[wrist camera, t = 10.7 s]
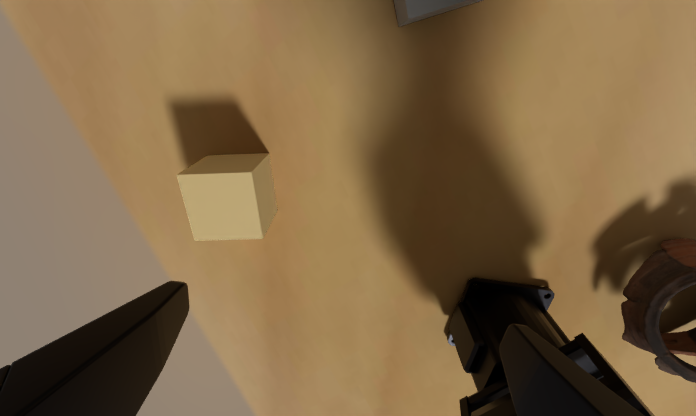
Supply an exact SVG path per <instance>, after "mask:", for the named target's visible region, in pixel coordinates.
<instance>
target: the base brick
mask: <svg viewBox="0 0 696 416" xmlns="http://www.w3.org/2000/svg"><path fill="white" fill-rule="evenodd" d="M479 1H482V0H394V5H395V10H396V15H397V21H398V26H399V27H400V26H403V25H406V24H409V23H412V22H416V21H419V20H422V19H425V18H428V17H432V16H435V15H438V14H441V13H444V12H447V11H451V10H454V9H457V8H460V7H463V6H466V5H470V4H473V3H476V2H479Z"/></svg>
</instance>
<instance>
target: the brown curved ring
mask: <svg viewBox="0 0 696 416" xmlns="http://www.w3.org/2000/svg"><path fill="white" fill-rule="evenodd" d="M661 248H662V250H659V251H656V252H654V253H653V255H652V256H650V257H649V258H648V259H647V260H646V261H645V262H644V263H643V264H642V266H641V267H640V268H639V269H638V270H637V271H636V272H635V274H634V275H633V276H632V278H631V279H630V281H629V283H628V284H627V286H626V287H625V288H624V290H623V295H624V296H625V297H626V298H627V299H628V300H627V301H625V302H623V303H622V304H621V309H622V315H623V319H624V324H625V330H624V333H623V335H622V339H623V340H625V341H627V342H629V343H631V344H632V345H634V346H636V347H638V348H641V349H643V350H646V351H649V352H651V353H653V354H655V355H656V356H658V357H656V358H655V363H656V364H657V365H658V366H659V367H658V368H659V369H660V370H662V371H665V372H667V373H670V374H673V375H678V376H682V377H683V378H684V379H686V380H688V381H691V382H695V383H696V367H695V366H693V365H690V364H688V363H686V362H684V361H683V360H681V359H679V358H678V357H677V356H675V355H674V354H684V355H690V356H696V327H695V328H693V329H691V330H689V331H683V332H676V333H660V331H659V320H660V315H661V312H662V310H663V309H664V307H665V306H666V304H667V302H668V301H669V300H670V299H671V298H672V297H673V296H674V295H676V294H677V293H678V292H680V291H682V290H684V289H685V288H688V287H690V286H692V285H695V284H696V241H694V240H691V239H674V240H666V241H663V242H662V245H661Z"/></svg>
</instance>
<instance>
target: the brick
mask: <svg viewBox="0 0 696 416" xmlns="http://www.w3.org/2000/svg"><path fill="white" fill-rule="evenodd" d="M177 178H178V182H179V186H180V189H181V193H182V197H183V200H184V204H185V208H186V211H187V215H188V219H189V222H190V226H191V230H192V233H193V237H194V241H201V240H237V239H263V238H264V236H265V234H266V232H267V230H268V228H269V226H270V224H271V222H272V220H273V218H274V216H275V214H276V212H277V210H278V209H277V203H276V196H275V189H274V182H273V175H272V168H271V161H270V154H269V153H259V154H231V155H207V156H205V157H204V158H202V159H201V160H199V161H198V162H196V163H194V164H193V165H191V166H190V167H188V168H187V169H185V170H183V171H182V172H180V173H179V174H177Z"/></svg>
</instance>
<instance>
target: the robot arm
mask: <svg viewBox="0 0 696 416" xmlns="http://www.w3.org/2000/svg"><path fill="white" fill-rule="evenodd" d="M474 284H477V285H475V286H473V285H474ZM545 294H547V295H545ZM553 298H554V293H553V291H552V290H551V289H550V288H547V287H540V286H533V285H525V284H518V283H510V282H503V281H495V280H488V279H480V278H472V279H470V280H468V282H467V284H466V287H465V290H464V292H463V295H462V298H461V301H460V302H459V303H458V304H457V306H456V309H455V311H454V314H453V317H452V320H451V322H450V325H449V333H448V336H447V340H448V343H449V344H450V345H452V346H456V349H457V352H458V355H459V358H460V361H461V363H462V366H463V369H464V370H465V372H466V373H471V375H472V377H473V380H474V383H475V385H476V388H477V391H478V392H477V393H475V394H473V395H471V396H469V397H468V396H466V397H464V398H462V399H460V410H461V416H654V415H653V413H652V412H651V411H650V410H649V409H648V407H647V406H646V405H645V404H644V403H643V402H642V400H641V399H640V398H639V397H638V396H637V395H636V393H635V392H634V391H633V390H632V389H631V388H630V386H629V385H628V384H627V383H626V382H625V381H624V379H623V378H622V377H621V376H620V375H619V374H618V372H617V371H616V370H615V369H614V368H613V367H612V366H611V364H610V363H609V362H608V361H607V360H606V359H605V358H604V357H603V355H602V354H601V353H600V352H599V351H598V350H597V349H596V348H595V346H594V345H593V344H592V343H591V342H590V341H589V340H588V339H587V337H586V336H585V335H584V334H583V333H581V334H579V335H578V336H576V337H574V338H575V339H574V340H572V341H570V340H569V339H568V338H567V336H566V335H565V334H564V333H563V331H562V330H561V329H560V327H559V326H558V325H557V323H556V322H555V321H554V320H553V318H552V317H551V316H550V314H549V313H548V312H547V309H548V308H549V306H550V304H551V302H552V300H553ZM188 311H189V296H188V286H187V284H186V283H185V282H179V281H169V282H167V283H165V284H163V285H161V286H159V287H157V288H155V289H153V290H151V291H150V292H147V293H146V294H144V295H142V296H140V297H138V298H136V299H134V300H132V301H130V302H128V303H126V304H124V305H122V306H121V307H119V308H117V309H115V310H113V311H111V312H109V313H107V314H105V315H103V316H102V317H99V318H97V319H96V320H94V321H92V322H90V323H88V324H86V325H84V326H82V327H80V328H78V329H76V330H74V331H73V332H70V333H68V334H67V335H65V336H63V337H61V338H59V339H57V340H55V341H53V342H51V343H49V344H47V345H45V346H43V347H41V348H40V349H38V350H36V351H34V352H32V353H30V354H28V355H26V356H24V357H22V358H20V359H18V360H17V361H14V362H13V363H12V364H11V365H6V366H5V367H3V368H1V369H0V416H136V414H137V412H138V411H139V409H140V407H141V406H142V404H143V402H144V401H145V399H146V397H147V395H148V394H149V392H150V390H151V389H152V387H153V385H154V383H155V382H156V380H157V378H158V377H159V375H160V373H161V371H162V369H163V367H164V365H165V363H166V361H167V359H168V357H169V355H170V352H171V350H172V348H173V346H174V344H175V341H176V339H177V337H178V334H179V332H180V330H181V328H182V326H183V323H184V321H185V319H186V317H187V315H188Z"/></svg>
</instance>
